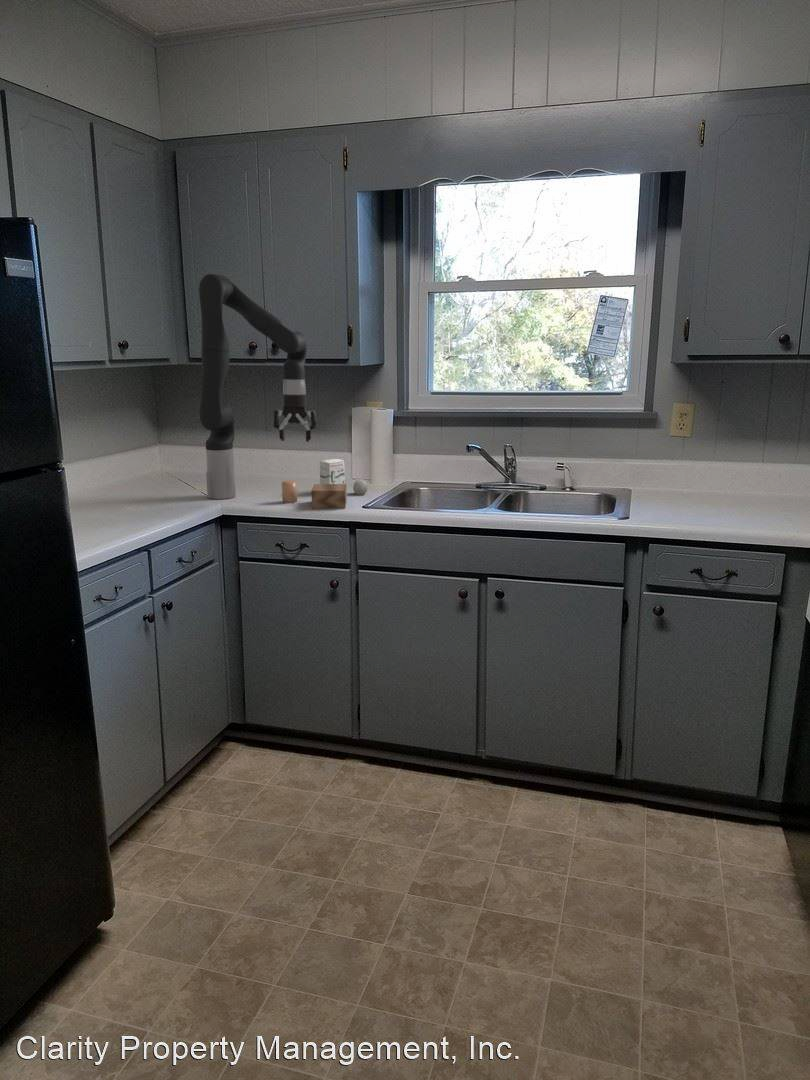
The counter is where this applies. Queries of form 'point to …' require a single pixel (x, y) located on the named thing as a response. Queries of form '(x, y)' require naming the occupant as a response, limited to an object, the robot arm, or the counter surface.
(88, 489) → the counter surface
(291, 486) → the terracotta canister
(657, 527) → the counter surface
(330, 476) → the ink box
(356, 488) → the off-white ball
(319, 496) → the walnut pedestal
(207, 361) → the robot arm
